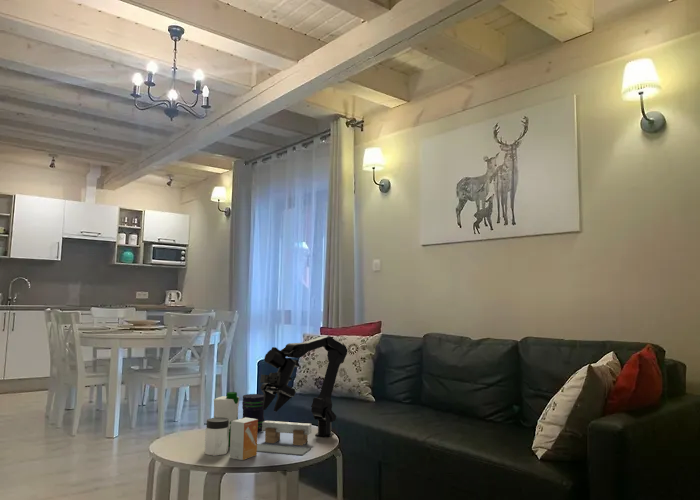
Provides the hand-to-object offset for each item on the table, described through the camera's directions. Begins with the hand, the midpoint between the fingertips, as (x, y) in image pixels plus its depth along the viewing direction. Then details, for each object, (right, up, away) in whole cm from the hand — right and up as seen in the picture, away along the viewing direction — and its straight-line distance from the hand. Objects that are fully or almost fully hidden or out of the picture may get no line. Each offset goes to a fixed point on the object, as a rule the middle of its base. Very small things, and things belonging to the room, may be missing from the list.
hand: (269, 410), depth 206 cm
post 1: (0, -15, +8) cm, 17 cm away
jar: (-18, -13, -9) cm, 24 cm away
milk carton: (-18, -14, +3) cm, 23 cm away
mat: (+4, -14, -5) cm, 15 cm away
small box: (-7, -13, -14) cm, 20 cm away
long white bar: (+6, -11, +7) cm, 14 cm away
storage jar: (-11, -17, +27) cm, 34 cm away
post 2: (+12, -15, +5) cm, 19 cm away
